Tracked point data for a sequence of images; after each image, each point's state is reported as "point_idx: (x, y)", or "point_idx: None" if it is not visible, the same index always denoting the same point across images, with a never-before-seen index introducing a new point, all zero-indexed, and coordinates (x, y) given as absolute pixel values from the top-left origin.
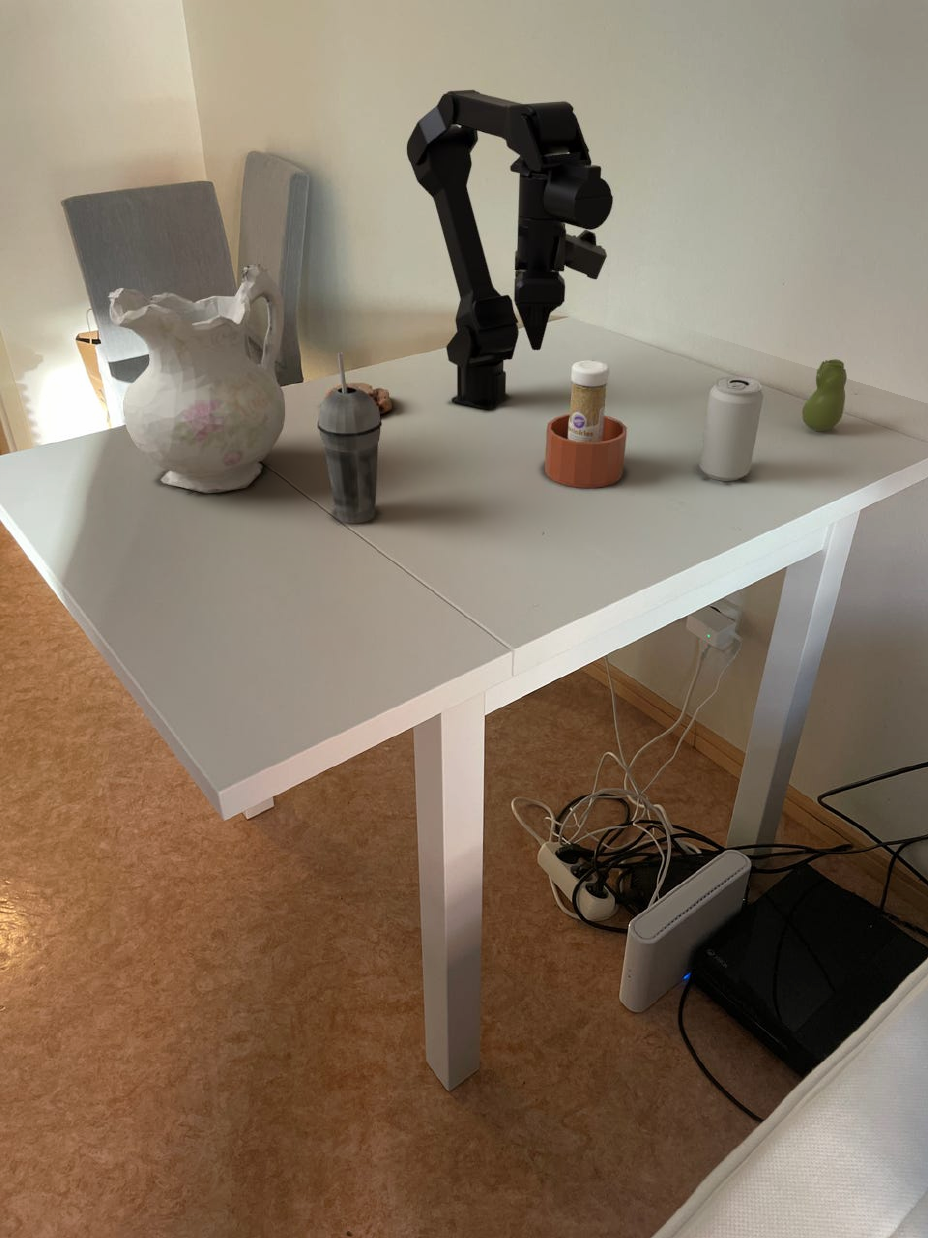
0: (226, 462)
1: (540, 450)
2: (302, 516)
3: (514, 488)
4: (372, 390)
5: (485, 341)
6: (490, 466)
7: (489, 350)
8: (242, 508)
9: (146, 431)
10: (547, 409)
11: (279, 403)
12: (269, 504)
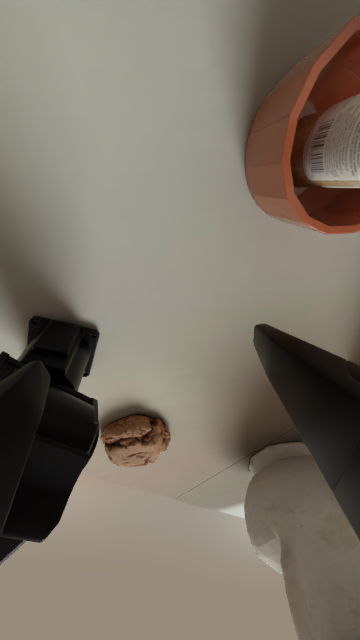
0: None
1: (227, 236)
2: None
3: (343, 255)
4: (135, 445)
5: (85, 422)
6: (278, 293)
7: (77, 400)
8: None
9: None
10: (53, 246)
11: (333, 500)
12: None
